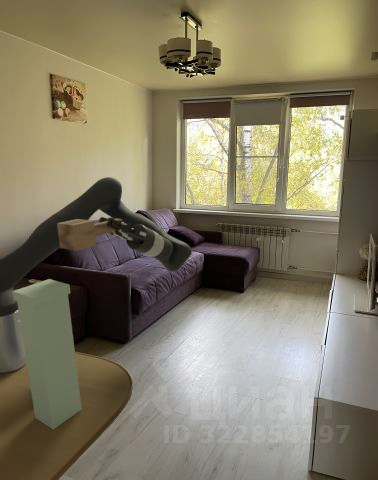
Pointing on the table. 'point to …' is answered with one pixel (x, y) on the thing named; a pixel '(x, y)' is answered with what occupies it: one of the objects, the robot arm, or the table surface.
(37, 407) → the stand
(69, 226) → the mallet
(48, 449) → the table surface
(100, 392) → the table surface
